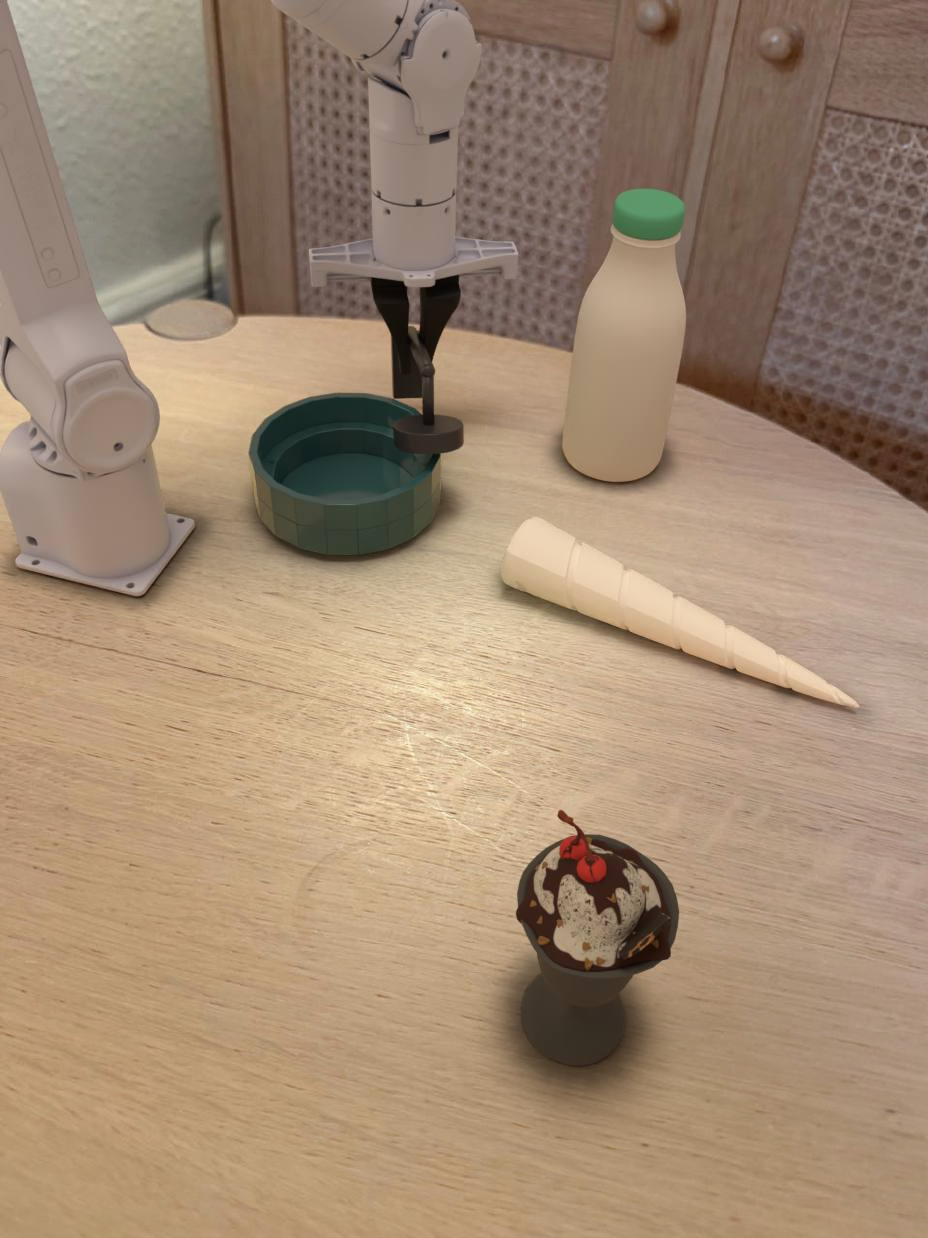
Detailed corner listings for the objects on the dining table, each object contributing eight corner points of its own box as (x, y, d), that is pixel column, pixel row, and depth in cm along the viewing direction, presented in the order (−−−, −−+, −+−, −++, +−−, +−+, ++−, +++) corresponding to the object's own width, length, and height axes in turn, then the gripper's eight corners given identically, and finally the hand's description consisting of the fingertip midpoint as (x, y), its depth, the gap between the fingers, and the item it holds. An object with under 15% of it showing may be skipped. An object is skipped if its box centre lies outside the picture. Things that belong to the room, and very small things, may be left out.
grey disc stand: (468, 452, 72) (468, 371, 70) (396, 456, 72) (394, 373, 69) (441, 393, 86) (440, 322, 83) (381, 395, 85) (378, 324, 83)
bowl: (225, 538, 75) (216, 480, 72) (300, 434, 84) (295, 378, 81) (405, 579, 73) (404, 522, 69) (462, 467, 82) (464, 411, 78)
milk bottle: (666, 487, 81) (719, 229, 67) (563, 483, 81) (595, 224, 67) (655, 427, 86) (701, 178, 72) (558, 424, 86) (586, 173, 72)
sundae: (493, 955, 53) (513, 769, 43) (627, 946, 54) (679, 761, 43) (508, 1090, 49) (534, 918, 38) (655, 1079, 49) (720, 907, 39)
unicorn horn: (836, 753, 63) (860, 698, 60) (492, 593, 72) (495, 538, 69) (862, 702, 66) (886, 648, 63) (528, 555, 75) (533, 500, 72)
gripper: (307, 218, 68) (320, 401, 78) (531, 211, 70) (517, 390, 80) (302, 172, 73) (315, 349, 83) (512, 167, 75) (501, 341, 85)
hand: (414, 366), depth 82 cm, fingers closed on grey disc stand
